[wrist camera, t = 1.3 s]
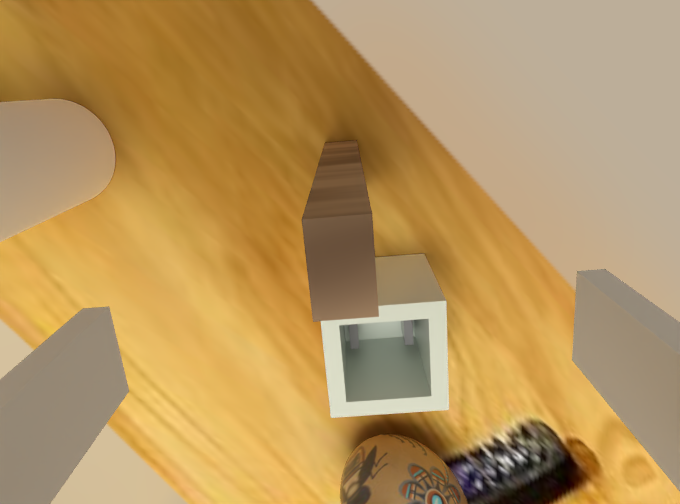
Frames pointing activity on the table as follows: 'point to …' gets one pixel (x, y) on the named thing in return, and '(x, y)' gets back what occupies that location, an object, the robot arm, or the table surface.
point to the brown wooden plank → (340, 238)
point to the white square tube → (391, 346)
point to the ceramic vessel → (398, 474)
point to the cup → (49, 161)
